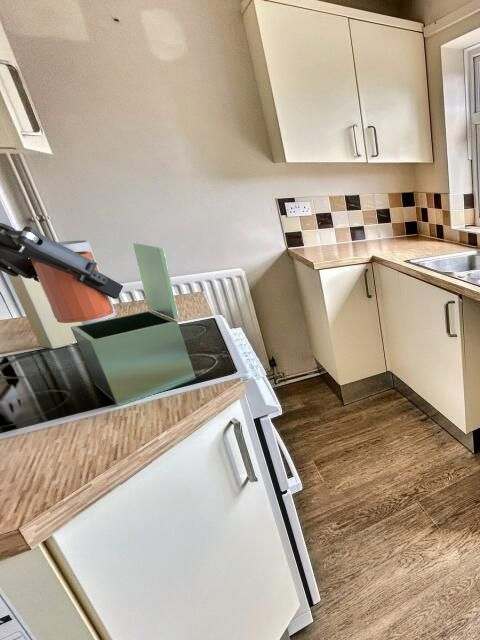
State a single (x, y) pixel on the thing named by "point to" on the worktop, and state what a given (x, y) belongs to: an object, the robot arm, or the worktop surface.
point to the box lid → (156, 279)
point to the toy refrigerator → (42, 314)
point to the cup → (71, 294)
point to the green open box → (134, 355)
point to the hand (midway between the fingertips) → (98, 292)
